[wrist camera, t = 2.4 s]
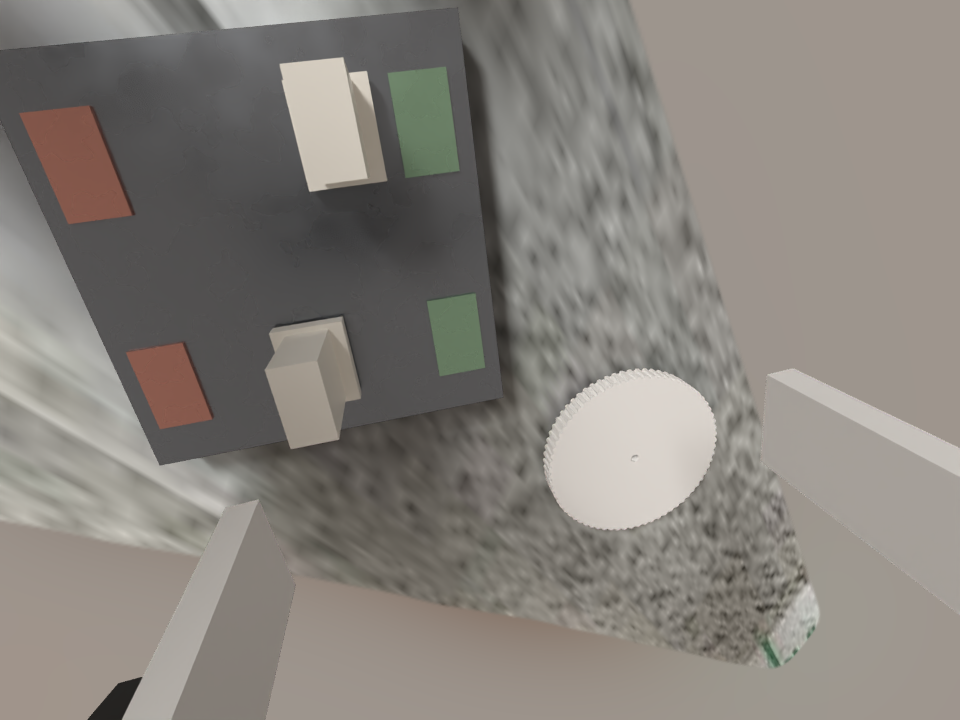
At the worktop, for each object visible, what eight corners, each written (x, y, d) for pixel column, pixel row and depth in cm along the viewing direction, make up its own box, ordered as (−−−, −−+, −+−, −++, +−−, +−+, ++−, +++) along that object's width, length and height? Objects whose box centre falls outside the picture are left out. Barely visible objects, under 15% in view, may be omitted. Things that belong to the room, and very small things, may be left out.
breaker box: (178, 440, 32) (158, 467, 29) (17, 66, 24) (-35, 52, 21) (494, 379, 35) (504, 398, 32) (450, 24, 26) (458, 6, 24)
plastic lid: (512, 416, 37) (521, 432, 35) (673, 332, 37) (692, 343, 34) (574, 535, 43) (585, 556, 40) (713, 463, 42) (732, 480, 40)
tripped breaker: (296, 404, 29) (276, 457, 24) (272, 328, 27) (244, 367, 22) (361, 391, 30) (356, 441, 24) (342, 316, 28) (332, 351, 22)
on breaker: (312, 190, 25) (291, 196, 20) (285, 83, 23) (255, 56, 18) (387, 180, 26) (388, 183, 20) (367, 74, 24) (362, 46, 18)
